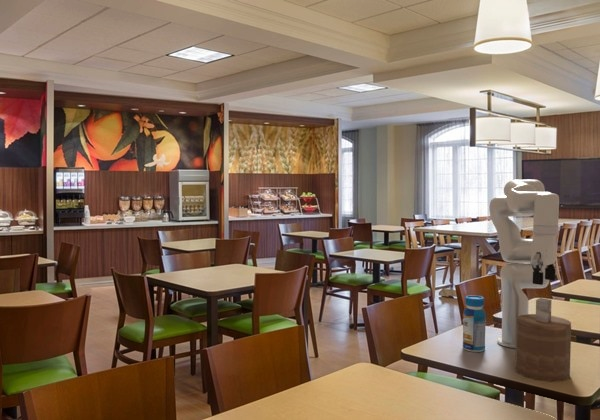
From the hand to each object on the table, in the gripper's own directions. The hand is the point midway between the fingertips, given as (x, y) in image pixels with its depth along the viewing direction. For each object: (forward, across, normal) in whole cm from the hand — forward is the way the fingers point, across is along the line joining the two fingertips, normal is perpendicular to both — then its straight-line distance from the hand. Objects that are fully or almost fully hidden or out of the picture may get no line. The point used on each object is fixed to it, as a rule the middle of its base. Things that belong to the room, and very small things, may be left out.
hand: (543, 281), depth 181 cm
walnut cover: (+30, 0, 0) cm, 30 cm away
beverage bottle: (+31, -6, -28) cm, 42 cm away
